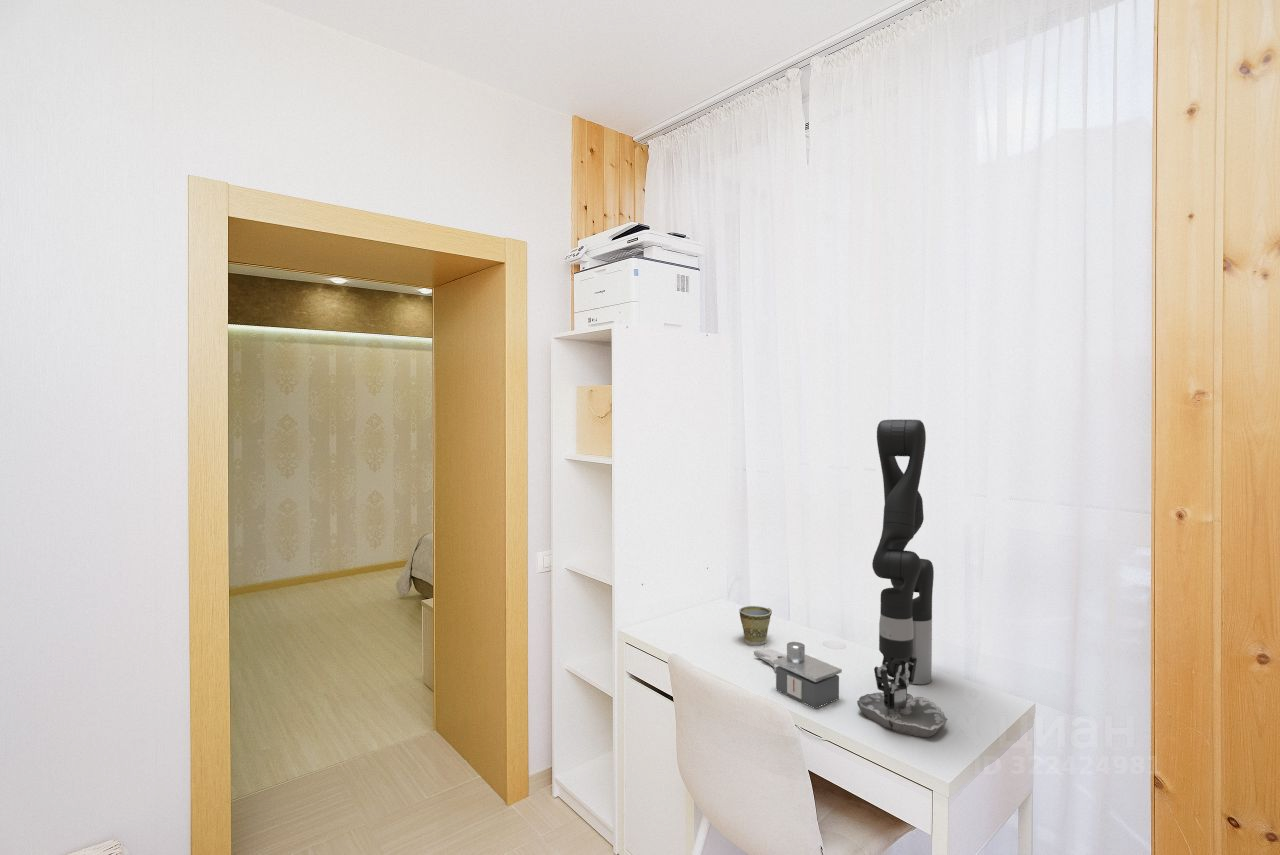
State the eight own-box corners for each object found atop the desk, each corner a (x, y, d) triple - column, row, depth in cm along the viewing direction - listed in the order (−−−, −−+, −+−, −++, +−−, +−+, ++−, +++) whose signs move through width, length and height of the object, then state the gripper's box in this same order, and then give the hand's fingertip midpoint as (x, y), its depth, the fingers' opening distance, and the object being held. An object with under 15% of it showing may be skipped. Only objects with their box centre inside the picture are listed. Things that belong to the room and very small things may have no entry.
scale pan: (773, 663, 166) (773, 660, 166) (799, 654, 171) (799, 651, 171) (815, 682, 154) (815, 679, 154) (841, 672, 160) (841, 669, 160)
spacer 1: (786, 656, 169) (786, 641, 168) (804, 657, 168) (804, 642, 168) (787, 662, 164) (787, 647, 164) (805, 664, 163) (805, 648, 163)
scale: (774, 690, 165) (774, 667, 165) (799, 680, 171) (799, 659, 171) (813, 709, 155) (813, 685, 154) (838, 698, 160) (839, 675, 160)
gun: (746, 650, 184) (766, 642, 190) (745, 661, 184) (766, 653, 191) (798, 673, 170) (818, 663, 177) (797, 685, 170) (818, 675, 177)
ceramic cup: (756, 650, 193) (756, 618, 192) (732, 640, 200) (732, 610, 200) (783, 640, 201) (783, 609, 201) (759, 631, 209) (759, 601, 208)
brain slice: (957, 720, 150) (957, 708, 149) (933, 748, 137) (933, 735, 137) (876, 694, 163) (877, 683, 163) (848, 718, 151) (848, 706, 150)
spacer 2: (883, 699, 151) (883, 683, 151) (903, 701, 150) (903, 684, 150) (887, 708, 147) (887, 691, 147) (908, 710, 146) (908, 693, 146)
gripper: (892, 645, 141) (891, 719, 141) (928, 631, 149) (927, 702, 149) (863, 635, 147) (863, 706, 148) (899, 623, 155) (899, 690, 156)
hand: (895, 704), depth 149 cm, fingers closed on spacer 2, 4 cm apart
